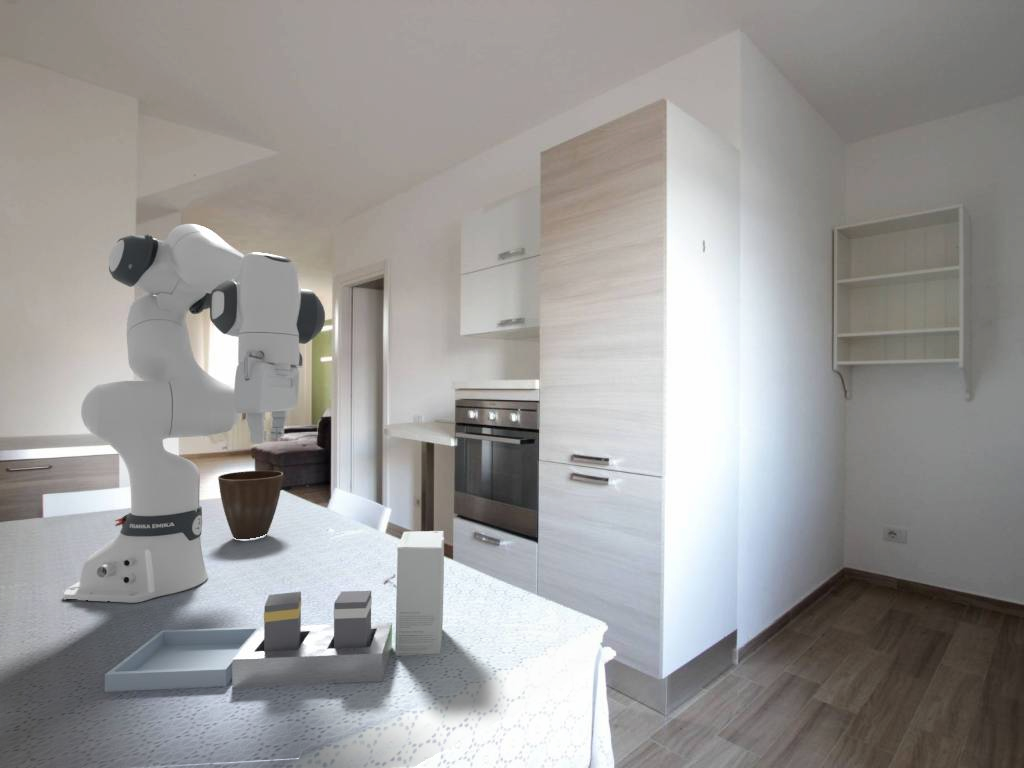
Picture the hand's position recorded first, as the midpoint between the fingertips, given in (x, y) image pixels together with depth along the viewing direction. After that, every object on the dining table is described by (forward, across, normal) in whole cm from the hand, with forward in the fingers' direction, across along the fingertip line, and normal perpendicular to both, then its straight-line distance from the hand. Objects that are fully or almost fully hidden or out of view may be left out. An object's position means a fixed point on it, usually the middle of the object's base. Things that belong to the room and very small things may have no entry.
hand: (268, 440), depth 84 cm
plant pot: (+29, +54, +20) cm, 65 cm away
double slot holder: (+29, -16, -11) cm, 35 cm away
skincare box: (+29, -10, -24) cm, 40 cm away
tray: (+29, -13, +6) cm, 32 cm away
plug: (+29, -15, -7) cm, 33 cm away
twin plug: (+29, -16, -16) cm, 36 cm away
